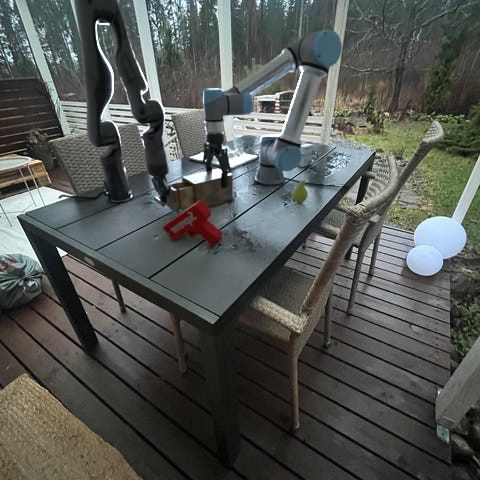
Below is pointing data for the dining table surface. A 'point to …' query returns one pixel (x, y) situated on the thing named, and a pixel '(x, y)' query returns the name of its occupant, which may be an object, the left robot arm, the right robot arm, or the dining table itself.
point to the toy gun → (194, 224)
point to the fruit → (300, 192)
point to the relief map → (234, 157)
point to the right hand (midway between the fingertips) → (217, 184)
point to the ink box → (306, 154)
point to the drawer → (179, 196)
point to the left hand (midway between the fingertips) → (164, 203)
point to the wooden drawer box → (210, 187)
